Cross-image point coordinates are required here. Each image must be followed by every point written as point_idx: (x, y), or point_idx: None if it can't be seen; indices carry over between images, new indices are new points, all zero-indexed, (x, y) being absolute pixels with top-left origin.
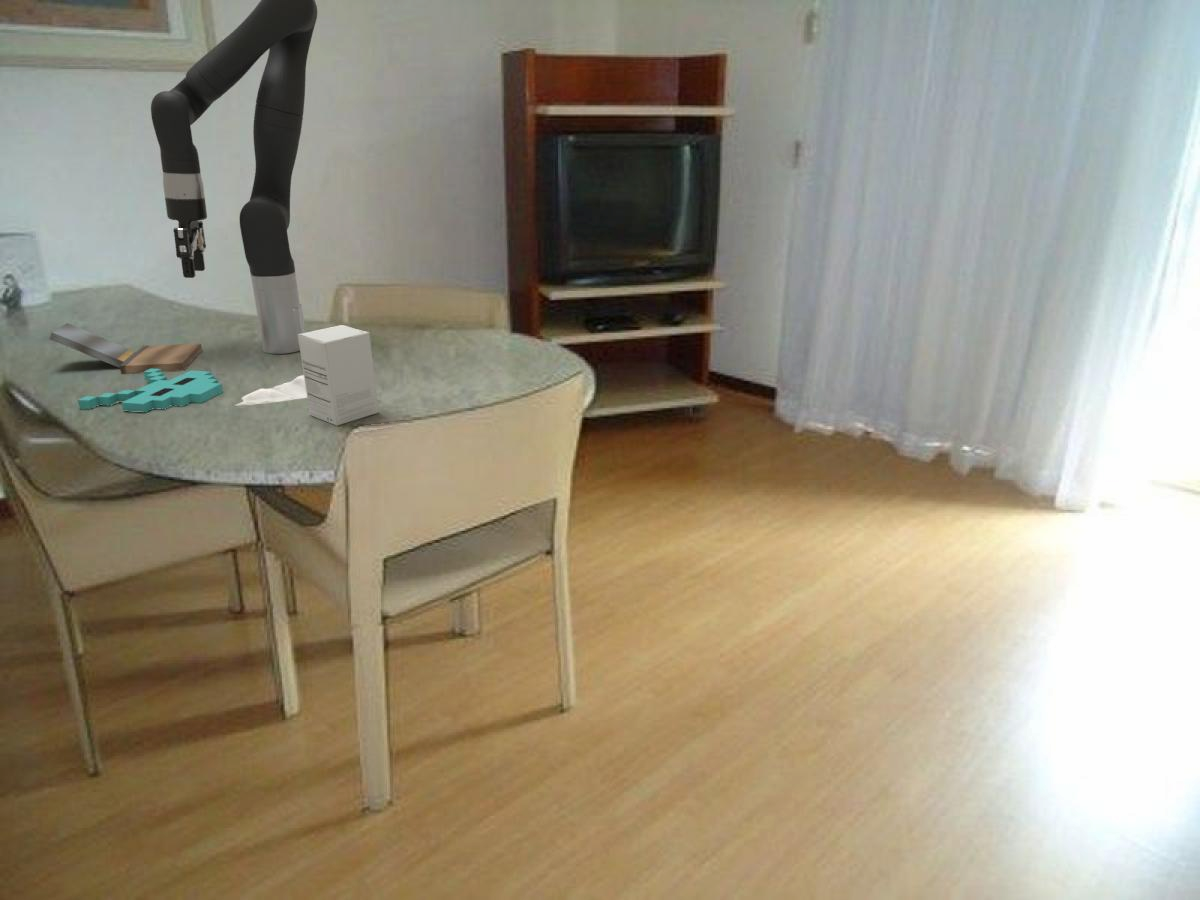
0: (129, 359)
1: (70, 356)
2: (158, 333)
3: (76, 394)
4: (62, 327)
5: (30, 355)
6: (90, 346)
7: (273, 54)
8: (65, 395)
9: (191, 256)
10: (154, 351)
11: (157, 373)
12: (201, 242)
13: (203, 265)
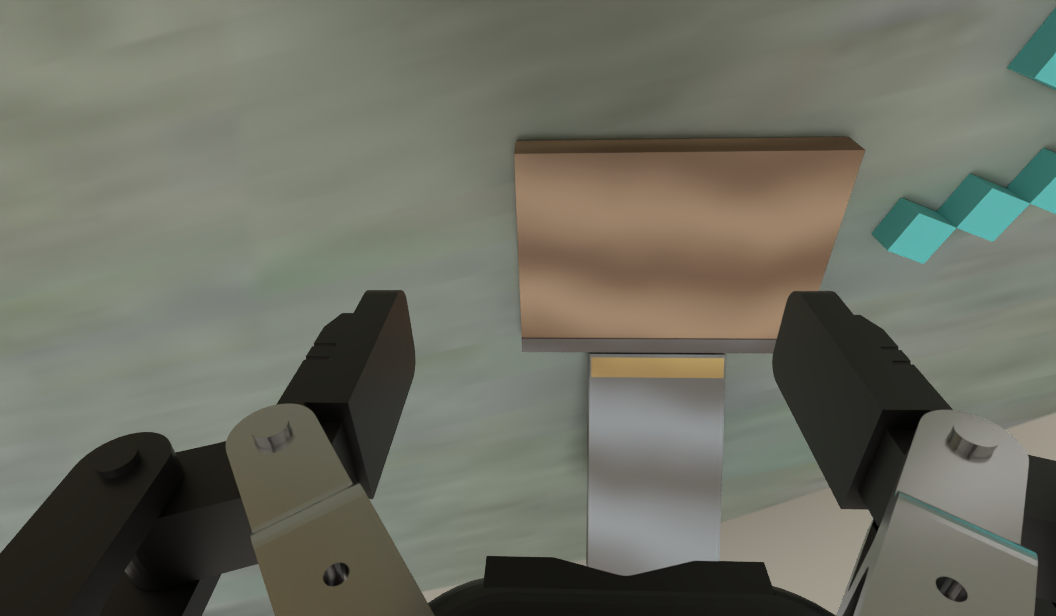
0: (719, 345)
1: (512, 489)
2: (229, 359)
3: (964, 385)
4: (643, 572)
5: (486, 552)
6: (707, 467)
7: None
8: (956, 406)
9: (1021, 453)
10: (615, 299)
11: (988, 208)
12: (391, 542)
13: (387, 315)
